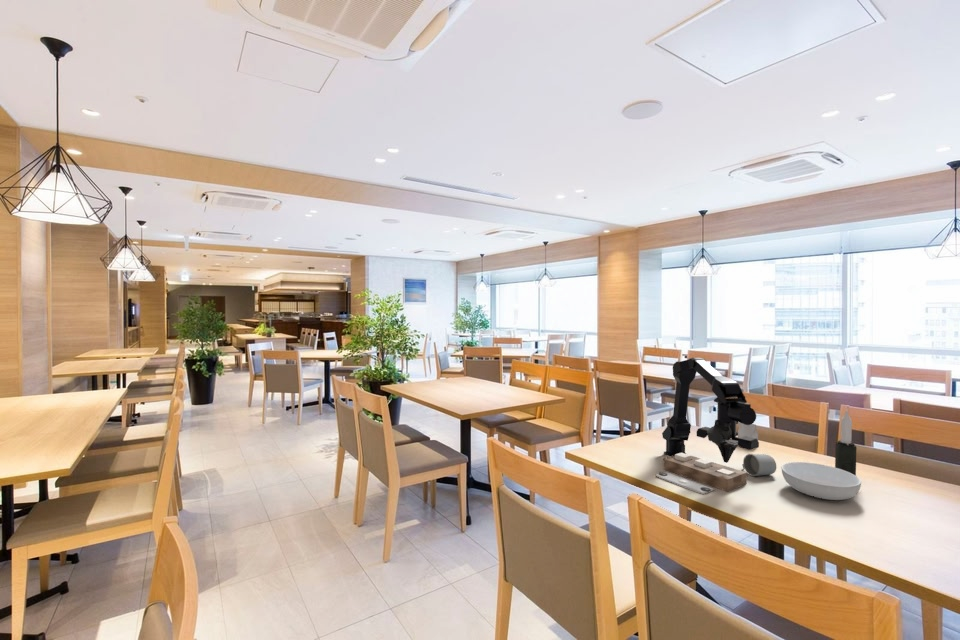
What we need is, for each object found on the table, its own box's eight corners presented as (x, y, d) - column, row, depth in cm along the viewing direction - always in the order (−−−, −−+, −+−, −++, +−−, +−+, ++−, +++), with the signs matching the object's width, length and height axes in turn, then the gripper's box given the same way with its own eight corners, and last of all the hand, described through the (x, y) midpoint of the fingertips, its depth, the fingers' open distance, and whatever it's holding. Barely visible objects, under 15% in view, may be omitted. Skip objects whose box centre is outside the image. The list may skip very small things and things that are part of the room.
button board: (663, 469, 168) (663, 458, 168) (682, 463, 174) (682, 453, 174) (727, 491, 148) (727, 479, 148) (746, 483, 154) (746, 472, 154)
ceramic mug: (778, 477, 160) (778, 456, 160) (759, 479, 158) (759, 457, 158) (754, 467, 170) (754, 447, 170) (736, 469, 168) (736, 449, 168)
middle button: (694, 468, 162) (694, 460, 161) (701, 466, 164) (701, 458, 164) (705, 472, 158) (705, 463, 158) (711, 470, 160) (711, 461, 160)
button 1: (674, 462, 168) (675, 454, 168) (681, 460, 170) (681, 452, 170) (684, 465, 165) (684, 457, 165) (691, 463, 167) (691, 455, 167)
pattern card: (654, 476, 161) (654, 474, 161) (664, 472, 164) (664, 470, 164) (704, 495, 145) (704, 492, 145) (715, 490, 148) (715, 488, 148)
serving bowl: (766, 487, 152) (767, 467, 151) (805, 477, 160) (805, 458, 160) (835, 513, 133) (836, 490, 132) (875, 500, 141) (876, 479, 141)
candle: (851, 478, 159) (853, 409, 158) (856, 483, 154) (858, 412, 153) (833, 476, 161) (835, 407, 160) (838, 481, 156) (840, 410, 155)
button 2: (716, 479, 155) (716, 470, 155) (722, 476, 157) (722, 468, 157) (728, 483, 151) (728, 474, 151) (734, 480, 154) (734, 472, 154)
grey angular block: (752, 448, 193) (752, 425, 193) (737, 443, 199) (738, 421, 199) (757, 446, 194) (758, 424, 194) (743, 442, 201) (743, 420, 200)
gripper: (687, 415, 157) (687, 458, 157) (742, 427, 141) (741, 475, 142) (705, 411, 163) (705, 453, 163) (760, 422, 147) (759, 468, 148)
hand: (726, 462), depth 154 cm, fingers closed
